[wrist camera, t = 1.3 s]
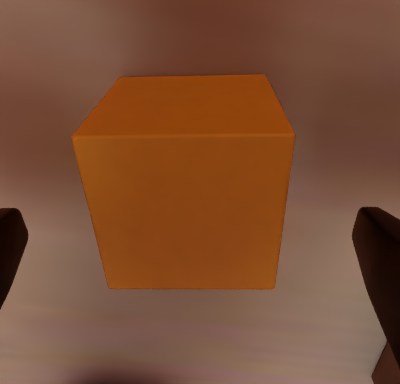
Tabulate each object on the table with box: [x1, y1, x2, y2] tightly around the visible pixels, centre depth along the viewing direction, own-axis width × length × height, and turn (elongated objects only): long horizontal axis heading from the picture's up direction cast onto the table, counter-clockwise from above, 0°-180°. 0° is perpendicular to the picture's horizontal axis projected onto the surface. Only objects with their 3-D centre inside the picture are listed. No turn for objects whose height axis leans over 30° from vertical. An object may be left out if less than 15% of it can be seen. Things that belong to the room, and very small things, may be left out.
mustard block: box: [71, 74, 295, 289], centre depth 11 cm, size 5×5×5 cm
